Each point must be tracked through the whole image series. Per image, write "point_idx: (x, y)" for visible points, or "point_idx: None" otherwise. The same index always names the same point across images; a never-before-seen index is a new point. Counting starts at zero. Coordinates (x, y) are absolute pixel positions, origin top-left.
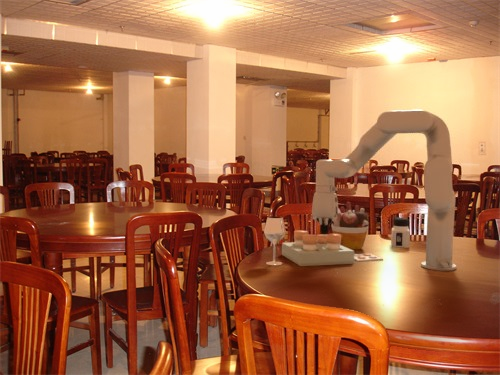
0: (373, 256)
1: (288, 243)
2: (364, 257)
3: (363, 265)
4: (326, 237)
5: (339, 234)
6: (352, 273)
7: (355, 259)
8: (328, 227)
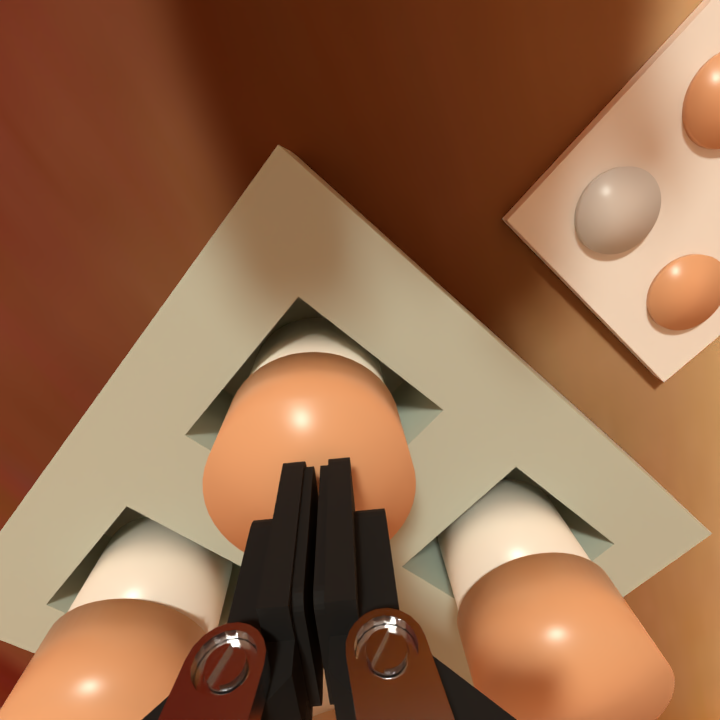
0: None
1: (16, 608)
2: (716, 283)
3: (709, 467)
4: (388, 531)
5: (646, 658)
6: (667, 652)
7: (631, 350)
8: (393, 580)
